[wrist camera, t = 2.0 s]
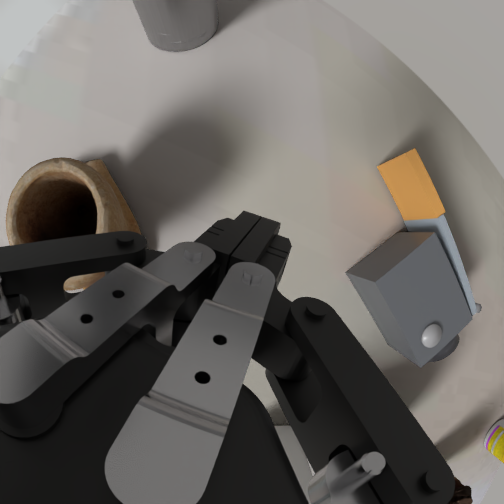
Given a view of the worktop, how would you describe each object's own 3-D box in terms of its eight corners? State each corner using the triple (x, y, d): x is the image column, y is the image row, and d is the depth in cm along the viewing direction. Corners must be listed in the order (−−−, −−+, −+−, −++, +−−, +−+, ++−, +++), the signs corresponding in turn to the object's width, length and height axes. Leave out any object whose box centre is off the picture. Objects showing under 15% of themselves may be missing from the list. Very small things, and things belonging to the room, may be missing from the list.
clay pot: (176, 253, 34) (133, 266, 19) (92, 303, 33) (17, 340, 18) (117, 137, 33) (54, 84, 18) (41, 192, 32) (-41, 174, 17)
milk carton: (238, 424, 35) (242, 544, 16) (295, 424, 35) (334, 537, 16) (236, 464, 35) (239, 577, 16) (289, 464, 36) (317, 572, 17)
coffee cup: (410, 448, 37) (450, 497, 24) (445, 447, 37) (487, 488, 24) (384, 488, 37) (415, 539, 24) (421, 485, 38) (454, 528, 25)
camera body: (345, 272, 35) (376, 283, 26) (397, 232, 35) (437, 232, 26) (396, 360, 36) (430, 386, 27) (441, 320, 36) (481, 337, 27)
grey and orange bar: (376, 167, 34) (406, 152, 27) (386, 161, 34) (418, 146, 27) (438, 306, 35) (472, 318, 28) (447, 298, 35) (482, 309, 28)
